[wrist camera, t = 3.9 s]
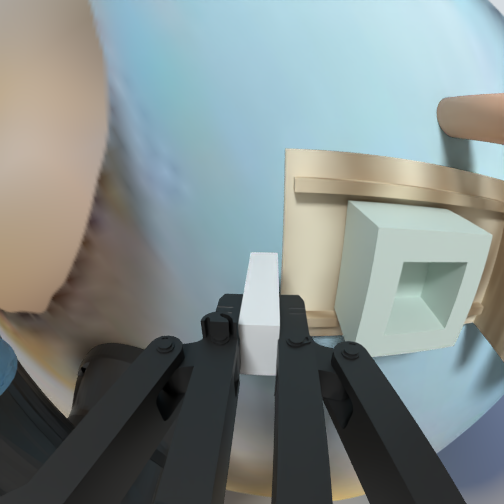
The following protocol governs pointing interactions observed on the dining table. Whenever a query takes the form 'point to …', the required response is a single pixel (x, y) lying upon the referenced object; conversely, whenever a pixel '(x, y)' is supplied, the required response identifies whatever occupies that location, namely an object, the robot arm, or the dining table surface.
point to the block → (407, 276)
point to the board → (385, 191)
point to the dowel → (473, 117)
